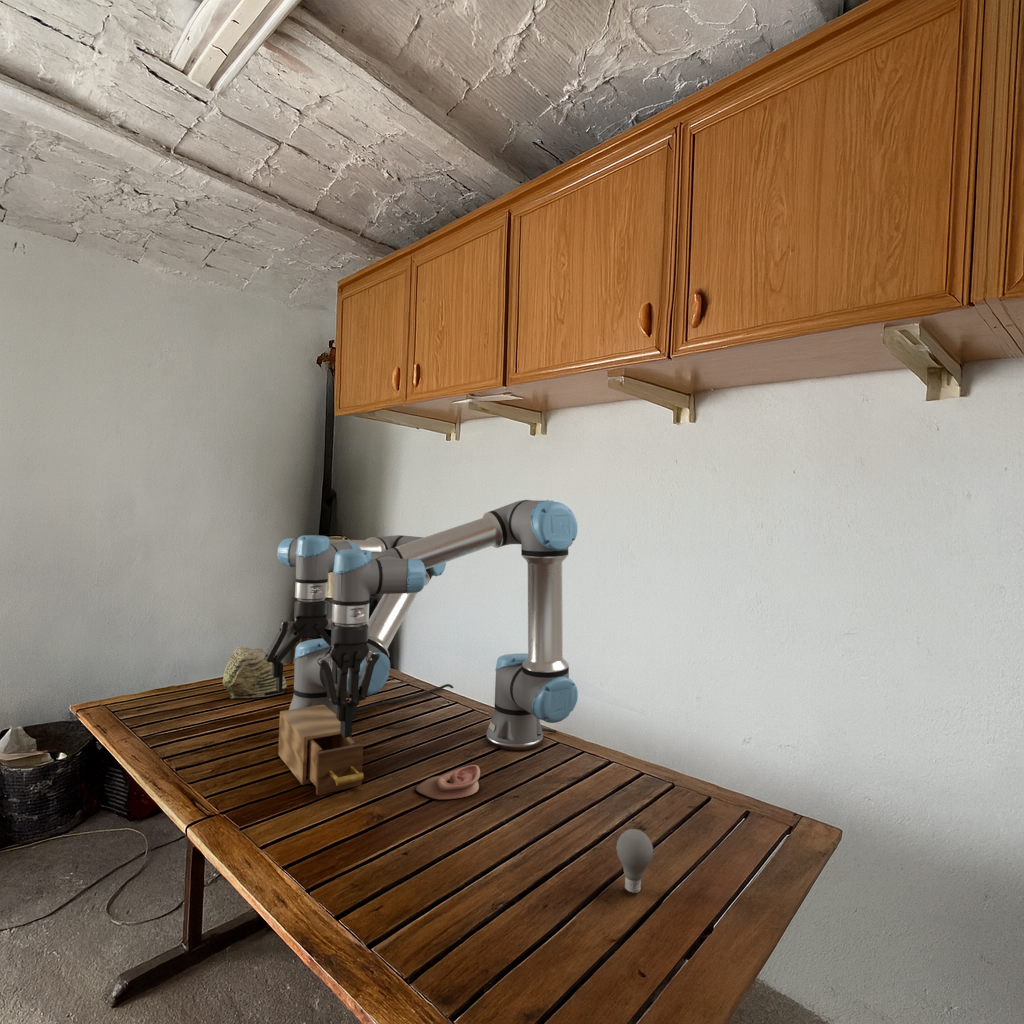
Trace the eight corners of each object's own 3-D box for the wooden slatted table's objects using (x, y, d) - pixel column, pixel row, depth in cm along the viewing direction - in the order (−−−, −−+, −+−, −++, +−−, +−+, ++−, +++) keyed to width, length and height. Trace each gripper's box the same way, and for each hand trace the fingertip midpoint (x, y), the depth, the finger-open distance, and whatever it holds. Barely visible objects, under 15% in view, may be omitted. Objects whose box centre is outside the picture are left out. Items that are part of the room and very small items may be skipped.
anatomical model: (411, 777, 135) (429, 756, 147) (410, 795, 136) (428, 773, 147) (471, 785, 133) (484, 763, 144) (470, 804, 133) (483, 781, 144)
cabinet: (350, 774, 145) (351, 728, 145) (302, 785, 139) (304, 736, 138) (322, 746, 160) (324, 704, 160) (278, 754, 154) (279, 711, 154)
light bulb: (610, 879, 108) (613, 822, 108) (644, 879, 109) (647, 822, 109) (619, 902, 102) (622, 840, 102) (655, 901, 103) (658, 840, 103)
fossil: (218, 695, 195) (220, 647, 195) (278, 685, 208) (279, 640, 207) (228, 703, 189) (230, 653, 188) (289, 692, 201) (290, 645, 201)
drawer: (372, 795, 133) (373, 754, 133) (327, 807, 128) (328, 763, 127) (333, 756, 152) (334, 719, 152) (292, 764, 147) (293, 726, 146)
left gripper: (261, 604, 143) (257, 698, 144) (365, 598, 158) (362, 683, 158) (253, 599, 149) (249, 689, 150) (354, 594, 164) (351, 675, 164)
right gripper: (325, 629, 126) (321, 747, 126) (386, 624, 133) (382, 735, 134) (313, 622, 132) (309, 734, 132) (372, 617, 139) (368, 724, 140)
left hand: (307, 686), depth 154 cm, fingers open, 13 cm apart
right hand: (345, 735), depth 133 cm, fingers closed
